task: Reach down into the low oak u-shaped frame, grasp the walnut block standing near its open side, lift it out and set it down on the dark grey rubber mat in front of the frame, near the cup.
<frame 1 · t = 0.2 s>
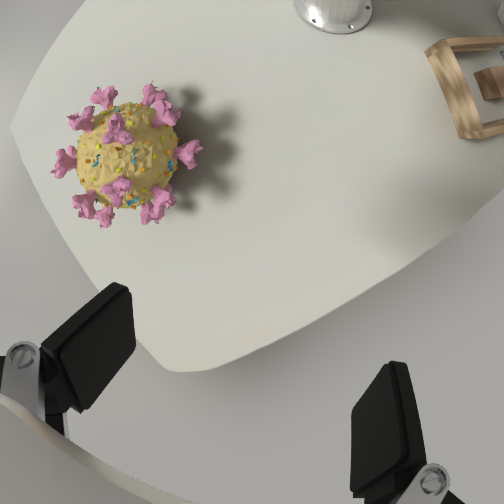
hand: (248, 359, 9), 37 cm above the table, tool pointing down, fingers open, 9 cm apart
educational model: (159, 149, 45), on the table
oak u-shaped frame: (477, 86, 28), on the table
block: (487, 85, 27), on the table
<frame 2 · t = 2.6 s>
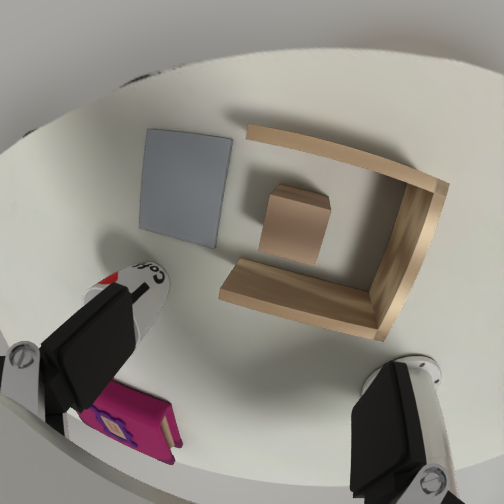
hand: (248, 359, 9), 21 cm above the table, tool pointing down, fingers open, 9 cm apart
book: (126, 404, 54), on the table
cup: (154, 278, 36), on the table
oak u-shaped frame: (326, 221, 28), on the table
mat: (181, 186, 30), on the table
block: (298, 213, 28), on the table
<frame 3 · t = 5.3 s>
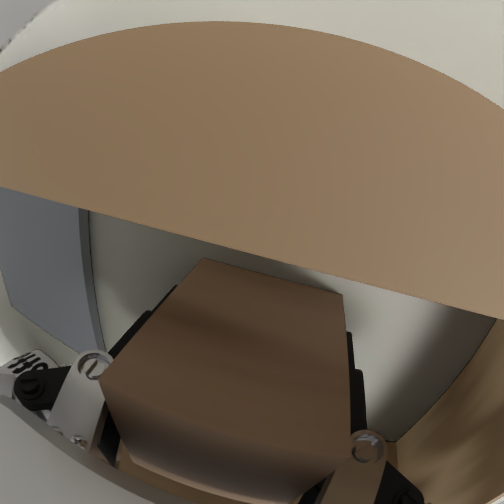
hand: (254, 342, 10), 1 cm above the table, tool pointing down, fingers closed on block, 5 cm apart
cup: (54, 371, 18), on the table
oak u-shaped frame: (331, 351, 10), on the table
mat: (34, 248, 12), on the table
block: (258, 331, 11), on the table, touching gripper
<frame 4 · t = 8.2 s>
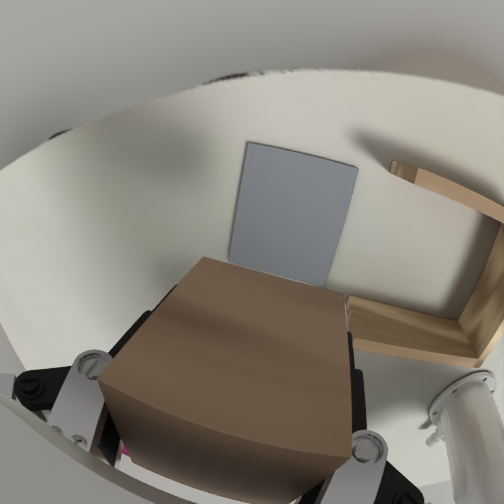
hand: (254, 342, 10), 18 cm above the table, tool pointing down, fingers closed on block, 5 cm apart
oak u-shaped frame: (437, 258, 24), on the table
mat: (290, 216, 26), on the table
block: (258, 330, 11), point 17 cm above the table, touching gripper
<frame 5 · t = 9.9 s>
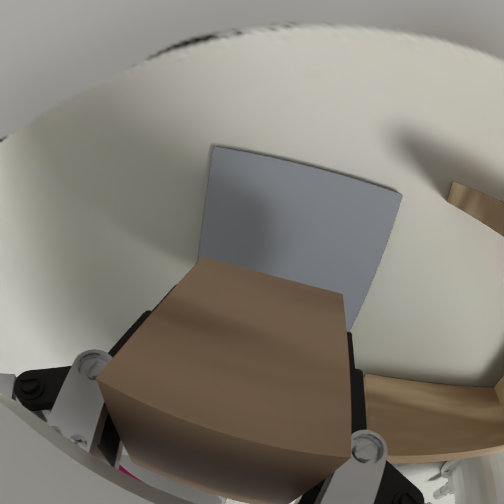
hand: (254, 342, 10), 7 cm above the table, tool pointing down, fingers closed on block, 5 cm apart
cup: (213, 387, 22), on the table
oak u-shaped frame: (489, 322, 14), on the table
mat: (284, 268, 16), on the table
block: (258, 330, 10), point 6 cm above the table, touching gripper
when the fingers open (2 cm above the table, at t = 11.4 s): block drops 1 cm, resting on mat.
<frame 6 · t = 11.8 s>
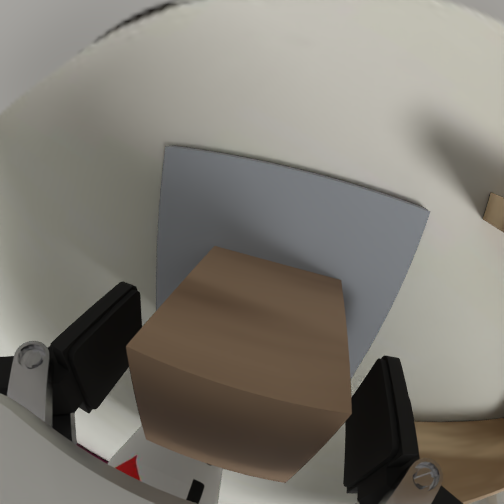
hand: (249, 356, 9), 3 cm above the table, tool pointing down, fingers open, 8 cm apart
cup: (192, 423, 18), on the table
mat: (265, 307, 12), on the table
block: (263, 315, 12), point 1 cm above the table, touching mat
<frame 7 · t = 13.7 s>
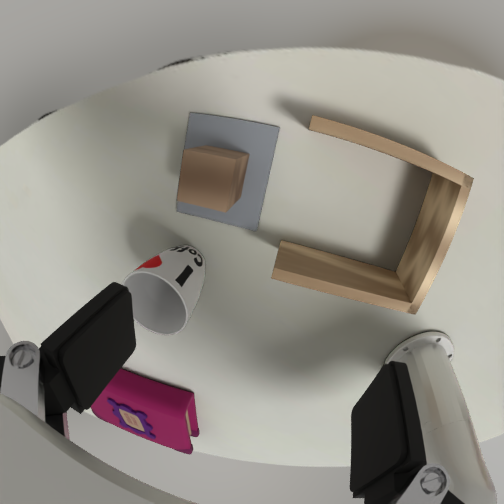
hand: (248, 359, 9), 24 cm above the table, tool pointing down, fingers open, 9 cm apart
book: (142, 395, 56), on the table
cup: (188, 262, 37), on the table
oak u-shaped frame: (363, 206, 29), on the table
mat: (224, 170, 30), on the table
block: (223, 171, 30), point 1 cm above the table, touching mat
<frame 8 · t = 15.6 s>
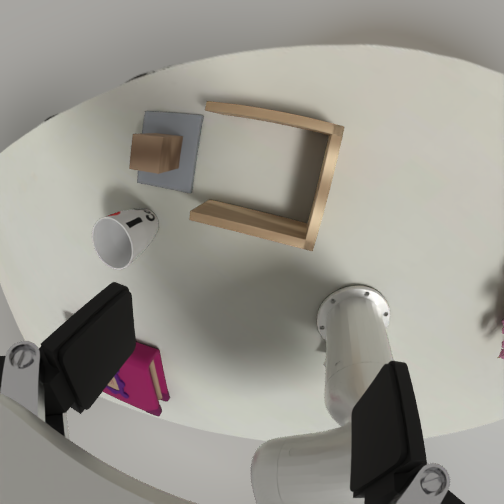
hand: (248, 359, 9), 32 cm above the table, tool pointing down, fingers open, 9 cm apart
book: (121, 358, 65), on the table
cup: (147, 222, 46), on the table
oak u-shaped frame: (269, 168, 38), on the table
mat: (168, 150, 40), on the table
block: (166, 150, 39), point 1 cm above the table, touching mat
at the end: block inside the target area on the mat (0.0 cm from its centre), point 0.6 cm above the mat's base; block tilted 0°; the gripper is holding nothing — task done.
